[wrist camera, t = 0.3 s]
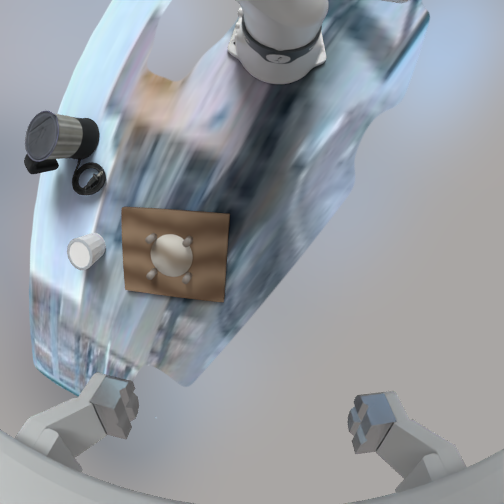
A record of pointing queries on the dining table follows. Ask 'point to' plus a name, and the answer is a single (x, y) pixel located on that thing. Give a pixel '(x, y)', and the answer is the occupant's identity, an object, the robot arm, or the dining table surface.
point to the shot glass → (85, 250)
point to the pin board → (175, 252)
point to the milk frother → (63, 146)
